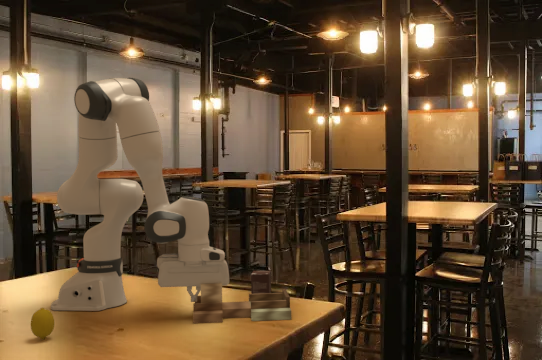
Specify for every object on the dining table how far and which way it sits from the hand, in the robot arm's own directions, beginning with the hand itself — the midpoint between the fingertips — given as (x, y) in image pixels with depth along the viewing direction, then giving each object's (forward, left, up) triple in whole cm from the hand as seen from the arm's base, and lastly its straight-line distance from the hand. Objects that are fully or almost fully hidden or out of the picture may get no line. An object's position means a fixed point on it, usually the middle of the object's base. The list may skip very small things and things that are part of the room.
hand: (194, 301), depth 163 cm
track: (+14, 0, -4) cm, 14 cm away
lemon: (-37, -17, -4) cm, 41 cm away
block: (+5, 0, -2) cm, 5 cm away
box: (+21, +23, -4) cm, 32 cm away
